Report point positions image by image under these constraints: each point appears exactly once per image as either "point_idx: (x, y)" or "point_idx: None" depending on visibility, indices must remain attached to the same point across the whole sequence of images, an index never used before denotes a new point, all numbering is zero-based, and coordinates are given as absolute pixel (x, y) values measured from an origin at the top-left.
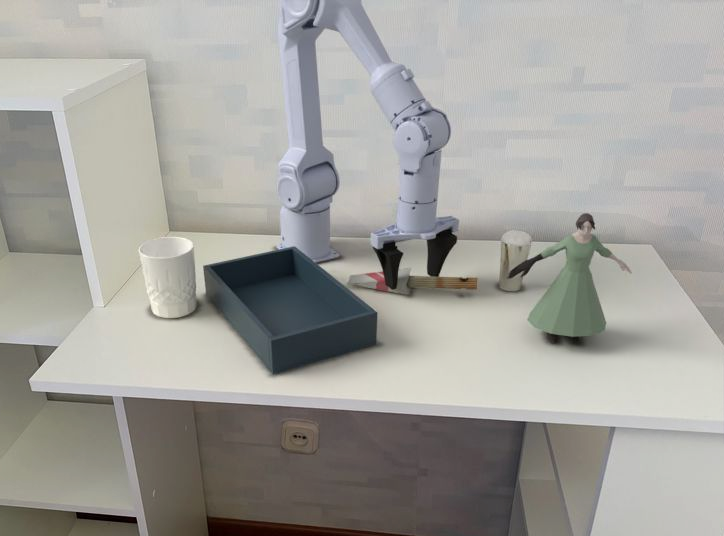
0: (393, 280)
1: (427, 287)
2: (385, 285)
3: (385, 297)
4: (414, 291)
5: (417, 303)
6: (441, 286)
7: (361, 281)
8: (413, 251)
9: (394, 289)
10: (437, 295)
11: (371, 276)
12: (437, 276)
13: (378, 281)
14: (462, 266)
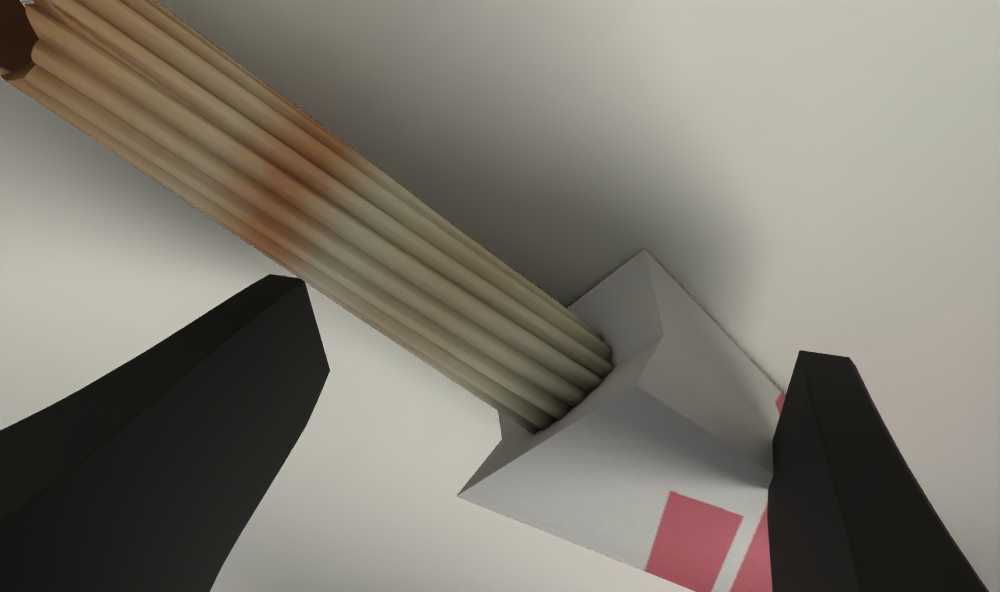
0: (896, 451)
1: (438, 214)
2: None
3: (880, 333)
4: (545, 268)
5: (692, 55)
6: (303, 120)
7: None
8: (274, 572)
9: (736, 370)
10: (384, 90)
11: None
12: (266, 286)
13: None
14: (39, 334)
